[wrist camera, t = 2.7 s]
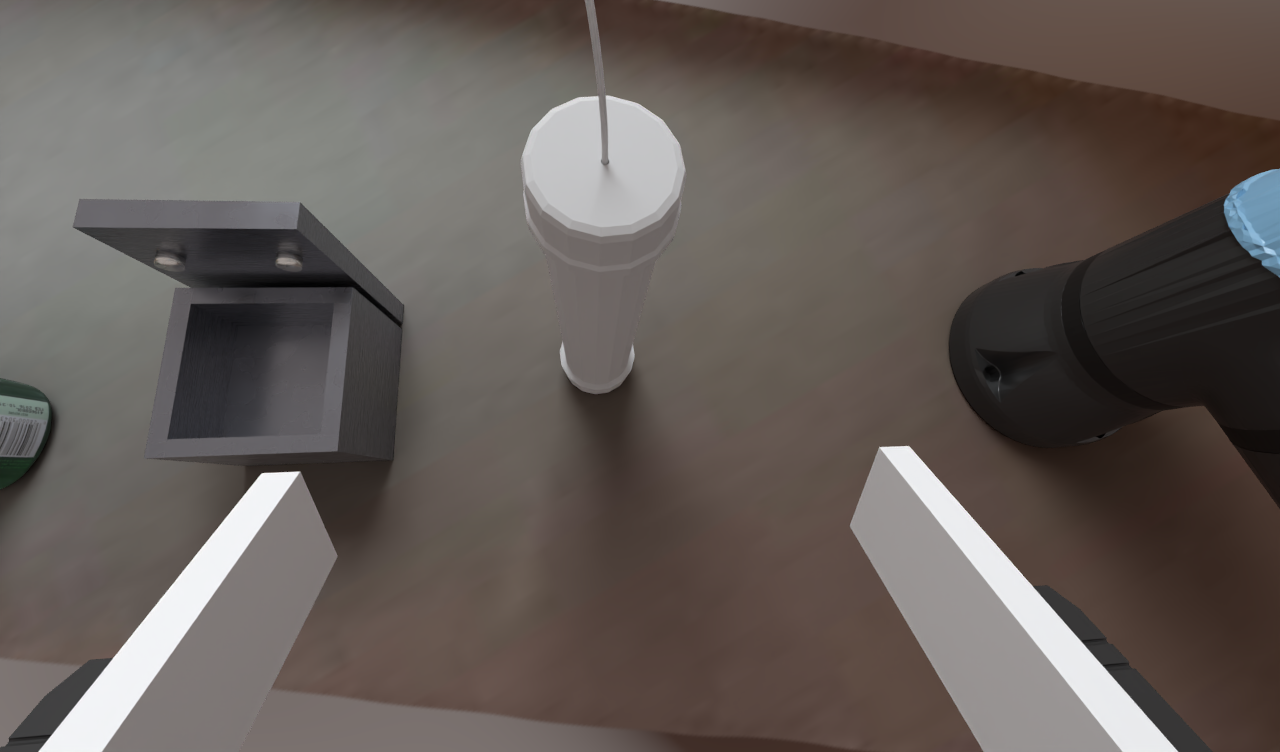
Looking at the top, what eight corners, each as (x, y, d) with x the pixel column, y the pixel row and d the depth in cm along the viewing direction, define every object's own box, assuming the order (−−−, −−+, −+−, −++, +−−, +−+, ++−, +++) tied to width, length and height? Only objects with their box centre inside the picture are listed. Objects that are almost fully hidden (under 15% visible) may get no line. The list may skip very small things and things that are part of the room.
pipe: (575, 406, 38) (518, 117, 9) (549, 333, 39) (422, -141, 10) (642, 383, 39) (794, 50, 9) (614, 312, 40) (677, -178, 11)
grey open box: (393, 460, 35) (269, 440, 22) (244, 465, 34) (18, 448, 21) (403, 305, 38) (299, 202, 25) (266, 306, 37) (79, 199, 24)
